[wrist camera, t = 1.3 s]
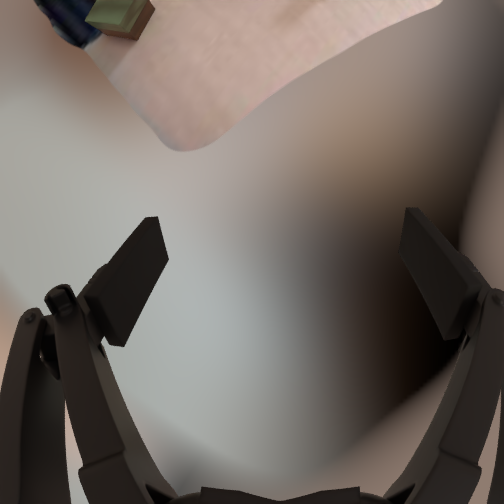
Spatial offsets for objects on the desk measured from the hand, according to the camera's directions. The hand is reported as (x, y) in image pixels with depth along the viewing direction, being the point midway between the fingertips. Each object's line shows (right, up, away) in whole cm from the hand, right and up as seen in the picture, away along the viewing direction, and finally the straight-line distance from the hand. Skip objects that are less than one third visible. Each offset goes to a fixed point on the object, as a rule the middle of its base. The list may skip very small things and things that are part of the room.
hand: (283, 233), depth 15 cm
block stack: (-18, +31, +13) cm, 38 cm away
